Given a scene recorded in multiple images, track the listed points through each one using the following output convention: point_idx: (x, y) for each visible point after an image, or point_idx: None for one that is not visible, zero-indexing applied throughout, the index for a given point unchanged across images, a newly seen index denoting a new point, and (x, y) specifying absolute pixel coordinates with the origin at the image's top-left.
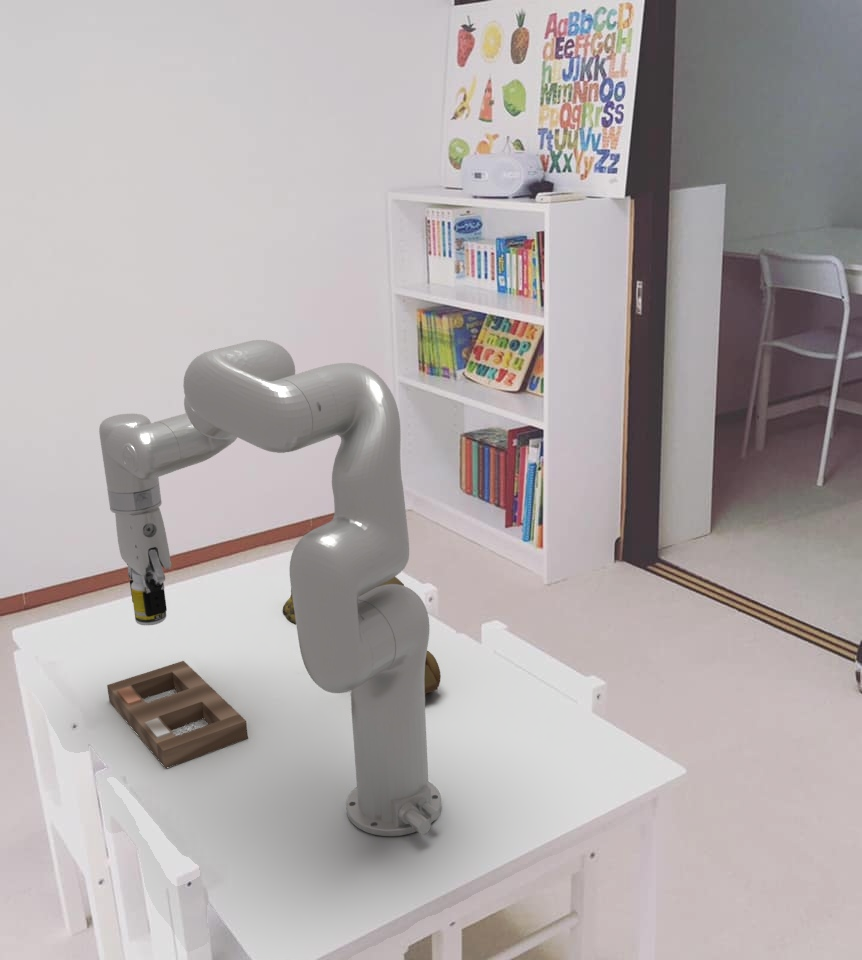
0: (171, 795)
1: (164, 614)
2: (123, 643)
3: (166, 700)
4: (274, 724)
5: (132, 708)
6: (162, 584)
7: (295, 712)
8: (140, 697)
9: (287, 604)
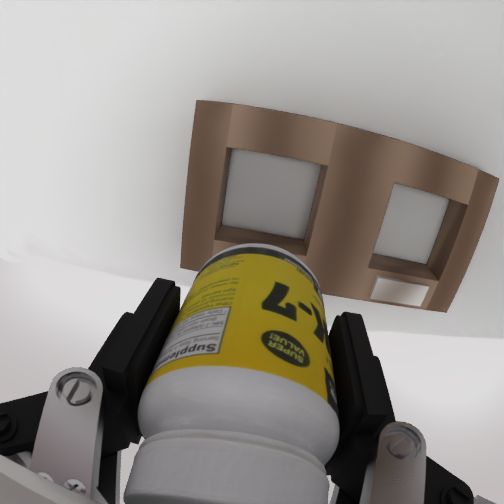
0: (472, 315)
1: (316, 285)
2: (25, 138)
3: (330, 225)
4: (483, 114)
5: None
6: (457, 481)
7: (480, 66)
8: None
9: None
